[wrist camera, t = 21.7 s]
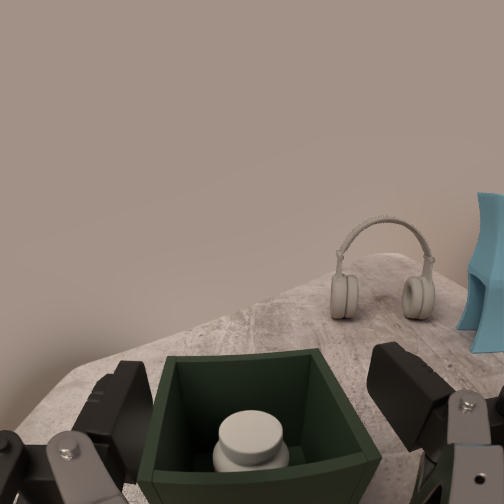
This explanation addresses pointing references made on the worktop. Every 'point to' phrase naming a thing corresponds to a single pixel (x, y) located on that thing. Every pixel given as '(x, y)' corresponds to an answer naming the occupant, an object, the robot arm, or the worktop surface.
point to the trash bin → (259, 399)
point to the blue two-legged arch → (487, 279)
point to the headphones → (415, 289)
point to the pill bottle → (250, 443)
